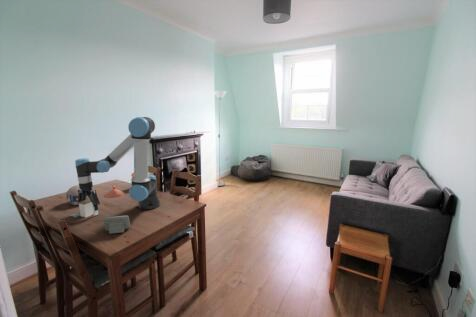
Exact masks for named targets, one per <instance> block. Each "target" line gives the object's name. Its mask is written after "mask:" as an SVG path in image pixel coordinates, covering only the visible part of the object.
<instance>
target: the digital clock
mask: <svg viewBox="0 0 476 317" xmlns="http://www.w3.org/2000/svg"><path fill="white" fill-rule="evenodd" d="M102 221H103V226H104V228H105V230H106V231H108V234H120V233H124V232H125V230H126V229H131V222H130V217H129V215H118V216H107V217H103V218H102Z"/></svg>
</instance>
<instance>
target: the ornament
mask: <svg viewBox="0 0 476 317" xmlns="http://www.w3.org/2000/svg"><path fill="white" fill-rule="evenodd" d="M78 190H80V188H79V184H75V185H73V186H71V187H70V188H68V189H67V191H66V194H65V198H66V200H67V202H68V203H69V204H70V205H72V206H79V203H78ZM87 199H90V198H88V196H86V200H87Z"/></svg>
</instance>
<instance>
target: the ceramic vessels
mask: <svg viewBox="0 0 476 317" xmlns="http://www.w3.org/2000/svg"><path fill="white" fill-rule="evenodd" d="M130 176H131V182H132V179H133V178H134V172H133V173H131V175H130ZM124 195H126V193H125V191H124V190H123V191H122V190H120V189H118V188H116V185H113V186H112V190H110V191H108V192H107V193H105V194H104V196H103V197H104V198H106V199H115V198H119V197H123V196H124Z"/></svg>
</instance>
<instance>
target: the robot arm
mask: <svg viewBox="0 0 476 317" xmlns="http://www.w3.org/2000/svg"><path fill="white" fill-rule="evenodd" d="M127 128H128V131H129V133H130V134H129V135H128V136H127V137H126V138H125V139H124V140H122V142H120V143H119V144H118V145H117V146H116V147H115V148H114V149H113V150H112V151H111V152H110V153H109V154H108V155H106V157H104V158H102V159H99V160H96V161H90V159H89V158H88V157H87V158H86V157H85V158H84V157H83V158H79V159H75V162H74V163H75V164H74V165H75V169H76V175H77V182H78V185H79V188H80V190H78V203H79V202H81V201H84V200H86V196H88V198H89V199H90V200H91V202H92V204H93V212H94V214H93V216H95V217H96V216H97V215H99V206H98V205H101V203H100V200H99V197H98V194H97V190H96V189H95V190H93V189H92V188H93V187H94V186H93V183H94V182H93V179H92V174H98V173H101V174H102V173H108V172H109V171H110V169H111V168H114V167H115V166H116V165H117V163H118V162H119V161H120V160H121V159H122V158H123V157H125V155H127V154H128V153H129V152H130V151H131V149H133V173H134V178H133V179H132V178H131V179H132V181H131V187H129V190H128V195H129V197H130V198H131V199H132V200H134V201H136V202H138V204H137V205H138V206H137V207H138V209H140V210H145V211H146V210H152V209H156V208H159V207H160V206H161V200H160V198H159V196H158V189H157V178H156V175H154V174H149V141H151V140H152V133H153V132H154V131H155V129H156V124H155V121H154V120H153V119H152V118H150V117H148V116H140V117H139V116H137V117H135V118H132V119H131V120H130V121H129V123H128V127H127Z"/></svg>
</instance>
